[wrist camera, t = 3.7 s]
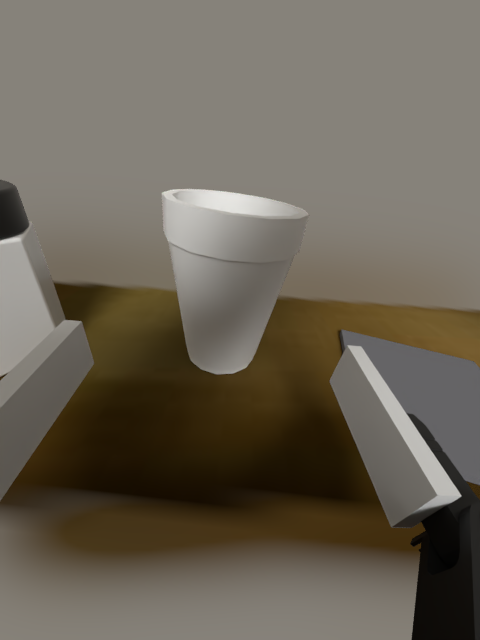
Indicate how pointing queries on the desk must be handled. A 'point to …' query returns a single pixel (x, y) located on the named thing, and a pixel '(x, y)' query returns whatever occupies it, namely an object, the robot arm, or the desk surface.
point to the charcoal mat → (432, 394)
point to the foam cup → (228, 269)
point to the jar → (22, 284)
